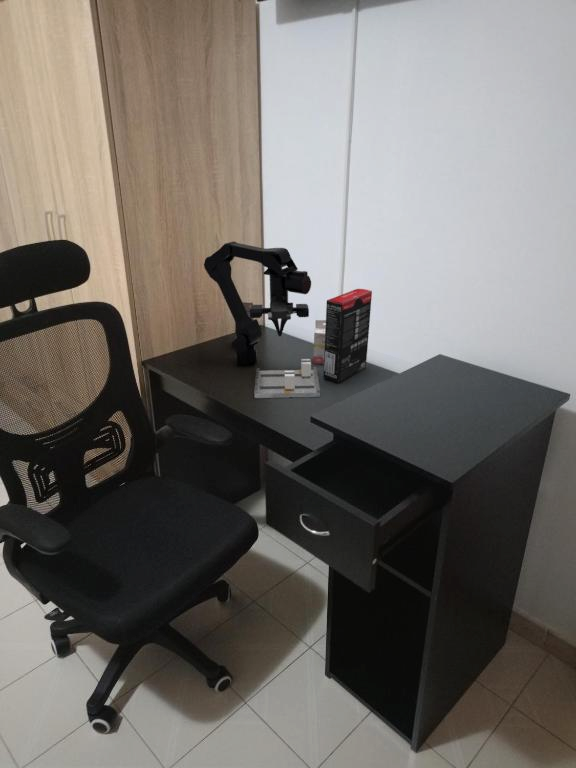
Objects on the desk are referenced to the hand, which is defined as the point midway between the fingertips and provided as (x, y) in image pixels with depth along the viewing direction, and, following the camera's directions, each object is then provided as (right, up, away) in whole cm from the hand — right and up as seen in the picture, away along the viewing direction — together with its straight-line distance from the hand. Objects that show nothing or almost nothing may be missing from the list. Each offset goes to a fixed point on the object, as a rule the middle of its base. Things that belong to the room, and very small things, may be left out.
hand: (279, 335), depth 179 cm
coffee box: (-13, -2, +26) cm, 30 cm away
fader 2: (+9, -12, 0) cm, 15 cm away
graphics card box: (+22, -12, +4) cm, 26 cm away
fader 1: (+3, -16, -9) cm, 19 cm away
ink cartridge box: (+16, -8, +13) cm, 22 cm away
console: (+2, -16, -4) cm, 17 cm away
